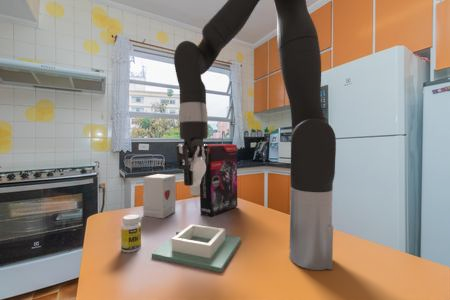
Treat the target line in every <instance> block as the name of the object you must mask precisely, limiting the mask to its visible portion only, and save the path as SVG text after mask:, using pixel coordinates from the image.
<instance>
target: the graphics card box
mask: <svg viewBox="0 0 450 300" xmlns="http://www.w3.org/2000/svg"><path fill="white" fill-rule="evenodd" d="M204 145H209V156H208V165H206V172H205V180H204V181H201V184H200V194H199V200H200V201H199V203H200V204H199V206H200V207H199V210H200V214H201V215H205V216H208V217H213V216H217V215H219V214H220V213H221V214H222V213H223V212H224V213H225V212H227V211H228V210H232V209H234V208H236V207H238V159H237V155H238V152H237V151H238V150H237V148H238V146H237V144H234V143H233V144H232V143H231V144H230V143H219V144H218V143H215V144H214V143H210V144H209V143H208V144H207V143H205V144H204Z"/></svg>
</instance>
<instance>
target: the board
mask: <svg viewBox="0 0 450 300" xmlns="http://www.w3.org/2000/svg"><path fill="white" fill-rule="evenodd" d="M175 233H176V234H175V236H173V237H172V238H171V239H169V240H168V241H167V242H165V243H164V244H163V245H161V246H159V248H157V249H156V250H154V251H153V252H151V258H153V259H157V260H162V261H167V262H171V263H176V264H180V265H184V266H189V267H195V268H199V269H204V270H209V271H212V272H217V273H222V272H223V270H224V269H225V267H226V266H227V264H228V263H229V261H230V259H231V258H232V256H233V255H234V253H235V251H236V250H237V248H238V247H239V245H240V244H241V242H242V237H239V236H233V235H227V234H226V228H222V227H215V226H208V225H200V224H194V223H191V224H190V225H188V226H187V227H186V228H180V229H178V230H177V231H176V232H175Z"/></svg>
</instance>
